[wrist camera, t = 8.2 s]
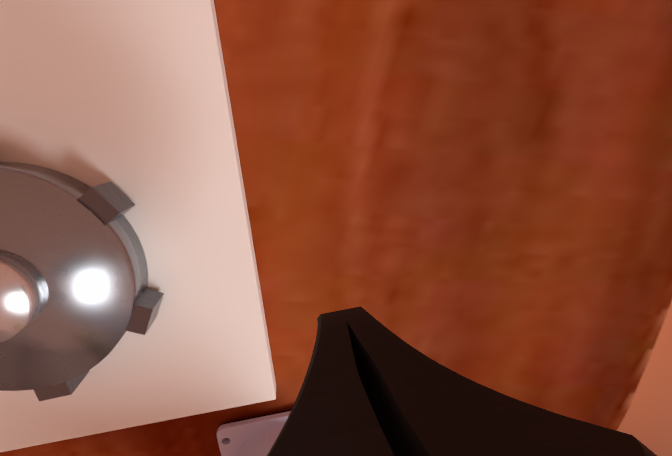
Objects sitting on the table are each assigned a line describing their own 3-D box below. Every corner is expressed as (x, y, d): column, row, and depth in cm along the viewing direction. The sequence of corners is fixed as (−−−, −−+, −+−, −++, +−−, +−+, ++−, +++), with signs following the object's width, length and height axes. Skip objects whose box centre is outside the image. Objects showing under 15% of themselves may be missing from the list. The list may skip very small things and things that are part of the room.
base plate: (275, 384, 21) (275, 400, 20) (-133, 460, 18) (-162, 484, 17) (209, -24, 15) (203, -37, 14) (-438, -9, 12) (-519, -25, 11)
